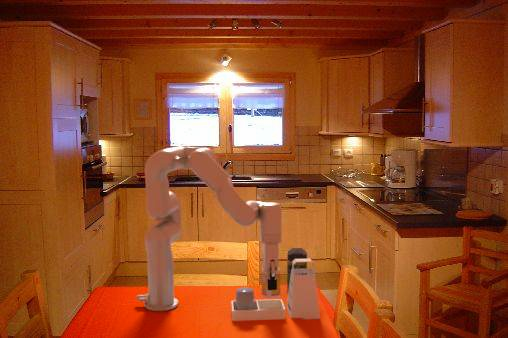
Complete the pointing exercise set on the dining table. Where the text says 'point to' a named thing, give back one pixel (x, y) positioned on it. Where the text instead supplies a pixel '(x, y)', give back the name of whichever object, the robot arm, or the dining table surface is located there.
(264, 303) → the caddy
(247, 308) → the grey smooth round piece
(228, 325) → the dining table surface
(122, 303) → the dining table surface
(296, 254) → the coffee jar
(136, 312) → the dining table surface
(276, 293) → the supplement bottle
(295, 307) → the grater
